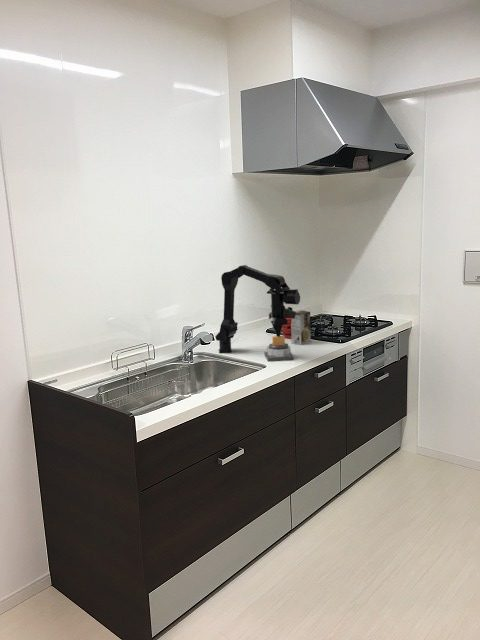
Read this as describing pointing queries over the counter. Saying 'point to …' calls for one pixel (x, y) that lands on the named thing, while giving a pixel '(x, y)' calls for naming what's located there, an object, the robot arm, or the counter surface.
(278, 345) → the disc with orange block
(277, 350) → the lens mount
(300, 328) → the coffee box
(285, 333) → the plant pot
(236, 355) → the counter surface
